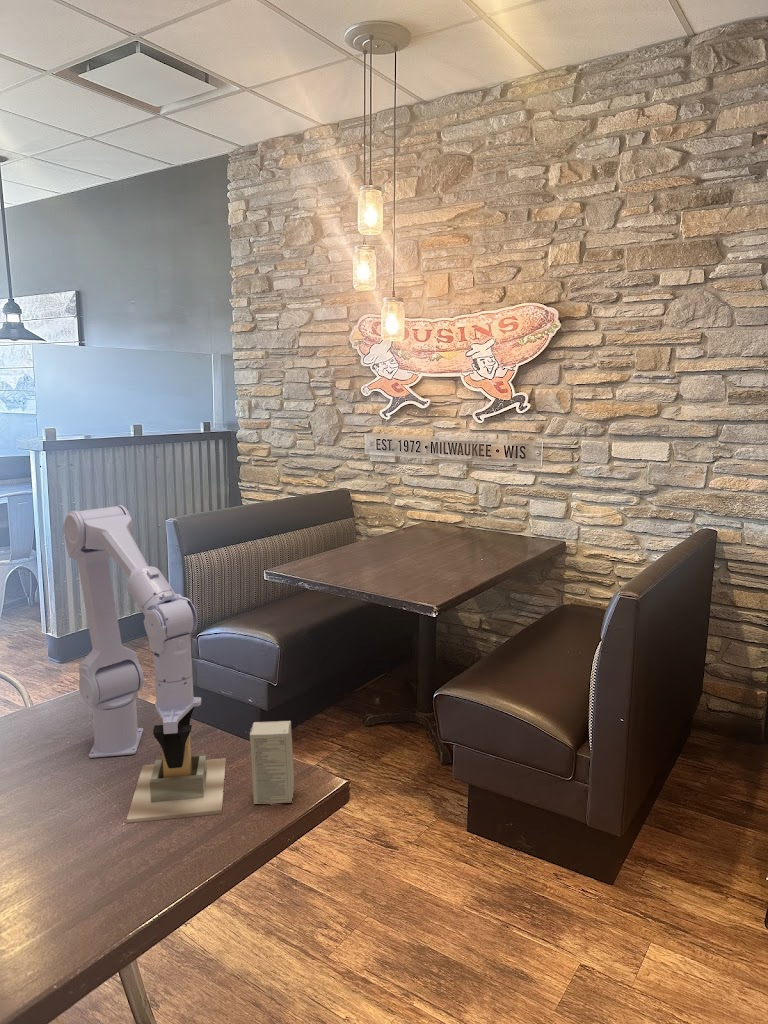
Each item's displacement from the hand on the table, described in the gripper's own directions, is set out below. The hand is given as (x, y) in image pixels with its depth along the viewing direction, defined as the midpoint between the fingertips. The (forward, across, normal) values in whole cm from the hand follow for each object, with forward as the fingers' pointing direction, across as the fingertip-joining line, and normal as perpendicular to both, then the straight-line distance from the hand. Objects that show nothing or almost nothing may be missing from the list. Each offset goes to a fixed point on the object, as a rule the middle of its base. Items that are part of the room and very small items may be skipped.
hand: (178, 754), depth 117 cm
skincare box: (+6, -5, -15) cm, 17 cm away
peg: (+6, 0, 0) cm, 6 cm away
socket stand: (+6, 0, 0) cm, 6 cm away
